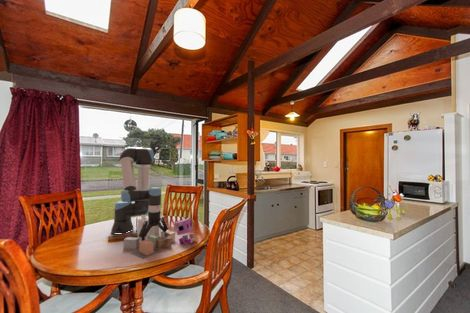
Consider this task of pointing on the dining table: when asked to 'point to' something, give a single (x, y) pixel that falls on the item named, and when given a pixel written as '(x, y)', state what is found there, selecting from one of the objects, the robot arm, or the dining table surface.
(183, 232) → the toy
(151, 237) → the sage brick
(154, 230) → the castle model
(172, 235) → the maple brick
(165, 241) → the walnut brick
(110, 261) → the dining table surface
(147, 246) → the terracotta brick
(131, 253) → the felt mat
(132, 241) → the grey brick
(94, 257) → the dining table surface
